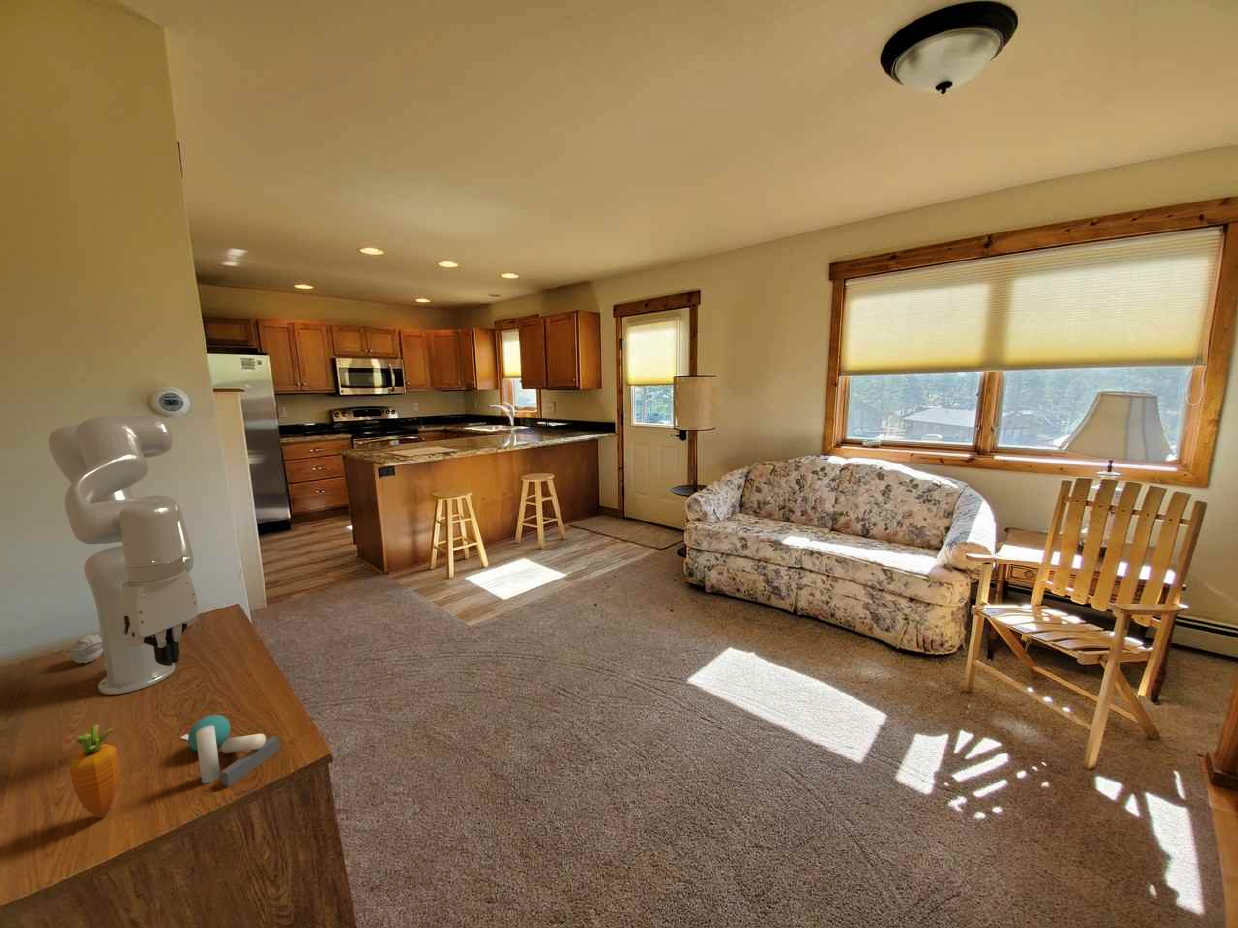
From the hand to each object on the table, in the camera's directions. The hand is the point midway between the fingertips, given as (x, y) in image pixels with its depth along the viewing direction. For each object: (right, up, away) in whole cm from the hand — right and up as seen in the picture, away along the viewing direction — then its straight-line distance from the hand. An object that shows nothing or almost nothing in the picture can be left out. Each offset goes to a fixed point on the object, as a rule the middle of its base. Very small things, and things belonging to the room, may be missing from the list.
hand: (168, 662), depth 91 cm
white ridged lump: (-45, -11, +27) cm, 53 cm away
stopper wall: (+20, -16, -6) cm, 26 cm away
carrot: (+5, -18, -16) cm, 24 cm away
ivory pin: (+13, -15, -2) cm, 20 cm away
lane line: (+6, -15, 0) cm, 16 cm away
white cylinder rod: (+15, -17, -8) cm, 24 cm away
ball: (+9, -13, -2) cm, 16 cm away
